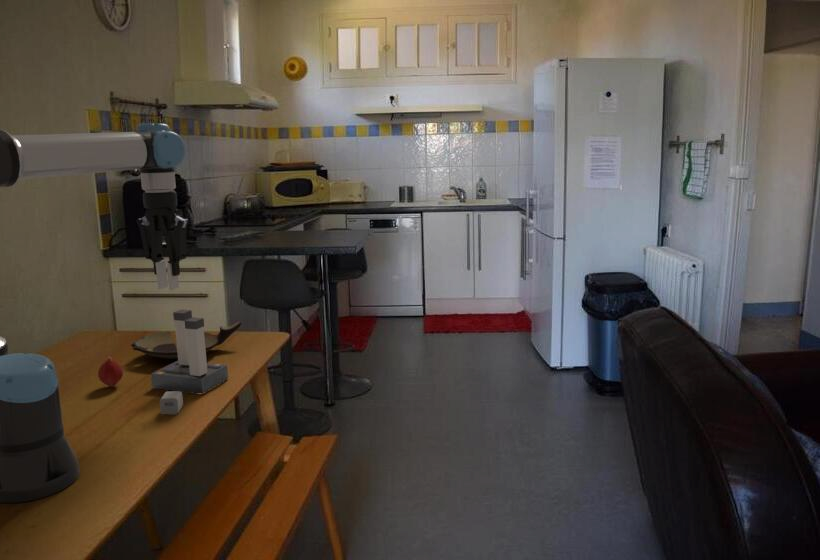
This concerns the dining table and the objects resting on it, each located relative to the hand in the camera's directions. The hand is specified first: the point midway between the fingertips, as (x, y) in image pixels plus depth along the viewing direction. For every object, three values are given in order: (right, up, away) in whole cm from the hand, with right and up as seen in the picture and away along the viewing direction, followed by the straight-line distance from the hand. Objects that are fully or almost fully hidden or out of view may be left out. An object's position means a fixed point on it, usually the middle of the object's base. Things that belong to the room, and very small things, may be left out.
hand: (168, 288), depth 163 cm
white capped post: (0, -20, +13) cm, 24 cm away
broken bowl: (-6, -20, +34) cm, 40 cm away
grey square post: (+6, -21, +5) cm, 23 cm away
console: (+2, -25, +10) cm, 27 cm away
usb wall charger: (+3, -28, -5) cm, 29 cm away
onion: (-18, -26, +10) cm, 33 cm away
